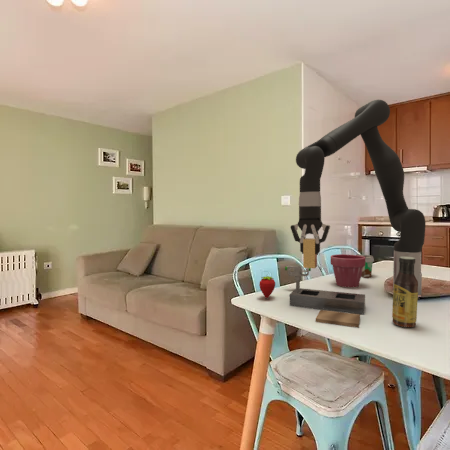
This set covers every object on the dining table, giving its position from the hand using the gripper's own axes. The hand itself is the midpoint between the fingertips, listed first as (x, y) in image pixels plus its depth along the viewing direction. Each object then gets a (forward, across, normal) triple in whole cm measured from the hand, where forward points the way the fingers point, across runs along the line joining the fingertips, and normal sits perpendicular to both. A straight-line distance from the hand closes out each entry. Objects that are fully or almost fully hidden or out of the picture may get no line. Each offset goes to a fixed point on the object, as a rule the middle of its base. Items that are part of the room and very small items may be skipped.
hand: (310, 253), depth 115 cm
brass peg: (+5, 0, 0) cm, 5 cm away
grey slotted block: (+18, -6, 0) cm, 19 cm away
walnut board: (+18, -11, +13) cm, 25 cm away
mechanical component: (+18, +8, -17) cm, 26 cm away
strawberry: (+18, +16, -1) cm, 24 cm away
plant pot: (+18, -10, -34) cm, 40 cm away
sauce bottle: (+18, -29, +10) cm, 36 cm away
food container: (+19, -17, -57) cm, 62 cm away
